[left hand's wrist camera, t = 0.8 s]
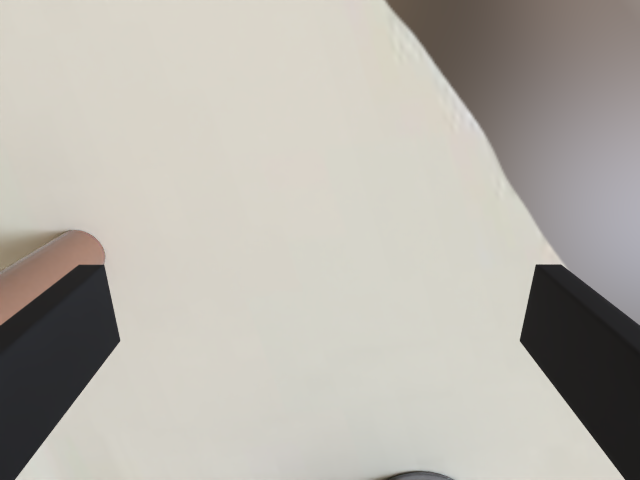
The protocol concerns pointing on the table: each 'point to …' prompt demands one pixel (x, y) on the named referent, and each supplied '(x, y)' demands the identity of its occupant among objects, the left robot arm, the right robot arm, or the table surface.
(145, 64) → the table surface
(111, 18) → the table surface
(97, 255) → the jar
